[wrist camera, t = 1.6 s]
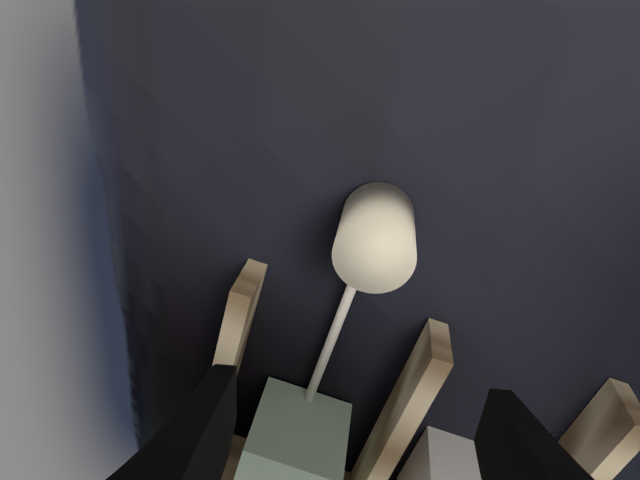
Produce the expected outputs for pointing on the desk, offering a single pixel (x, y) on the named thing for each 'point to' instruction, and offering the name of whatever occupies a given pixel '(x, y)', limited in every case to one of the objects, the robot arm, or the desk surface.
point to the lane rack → (421, 389)
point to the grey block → (441, 458)
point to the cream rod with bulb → (332, 345)
